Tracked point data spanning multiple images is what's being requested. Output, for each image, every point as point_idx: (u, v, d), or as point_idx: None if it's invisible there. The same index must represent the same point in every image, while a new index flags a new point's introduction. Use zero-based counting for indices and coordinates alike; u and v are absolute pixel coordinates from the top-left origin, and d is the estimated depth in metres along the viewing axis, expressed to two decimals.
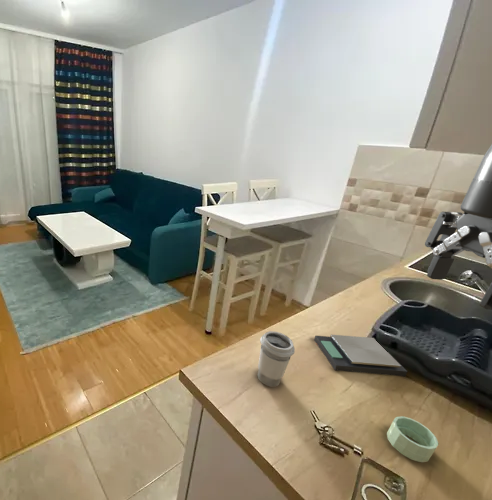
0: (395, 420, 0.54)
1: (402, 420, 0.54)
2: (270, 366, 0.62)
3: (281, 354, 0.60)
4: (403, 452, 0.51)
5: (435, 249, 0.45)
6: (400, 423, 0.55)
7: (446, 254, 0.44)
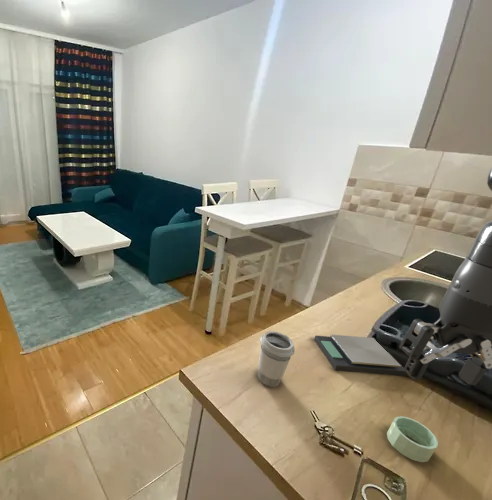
0: (395, 420, 0.54)
1: (402, 420, 0.54)
2: (270, 366, 0.62)
3: (281, 354, 0.60)
4: (403, 452, 0.51)
5: None
6: (400, 423, 0.55)
7: (476, 359, 0.46)
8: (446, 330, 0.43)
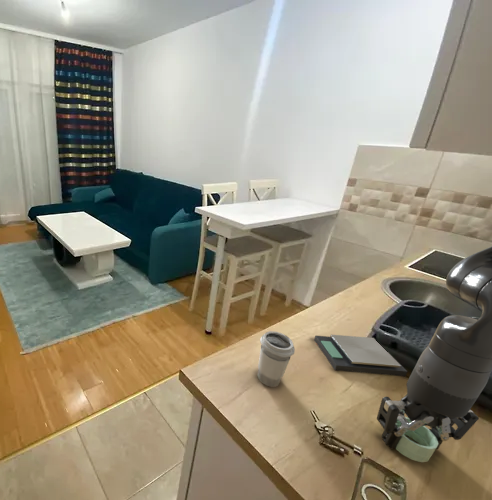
0: None
1: None
2: (270, 366, 0.62)
3: (281, 354, 0.60)
4: (403, 452, 0.51)
5: None
6: (400, 423, 0.55)
7: (434, 431, 0.51)
8: (411, 407, 0.48)
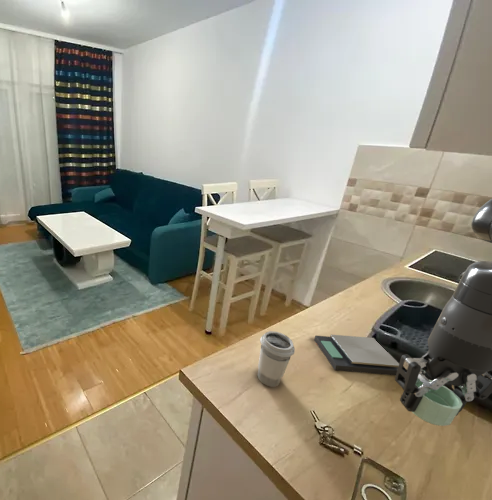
0: None
1: None
2: (270, 366, 0.62)
3: (281, 354, 0.60)
4: (424, 414, 0.48)
5: None
6: None
7: (457, 392, 0.48)
8: (434, 364, 0.45)
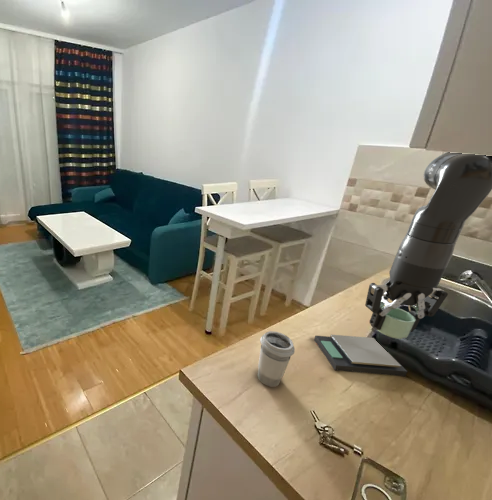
0: None
1: None
2: (270, 366, 0.62)
3: (281, 354, 0.60)
4: (387, 330, 0.61)
5: None
6: None
7: (412, 313, 0.62)
8: (393, 287, 0.58)
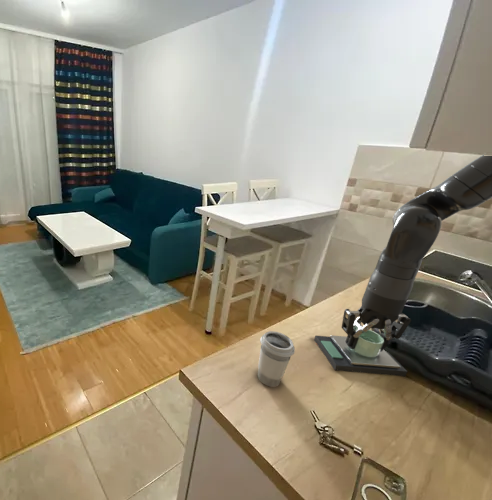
0: None
1: None
2: (270, 366, 0.62)
3: (281, 354, 0.60)
4: (359, 349, 0.71)
5: (383, 331, 0.72)
6: None
7: (382, 335, 0.71)
8: (364, 313, 0.68)
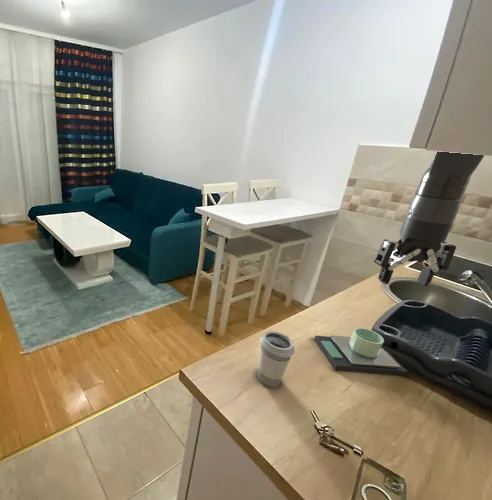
0: (355, 329, 0.73)
1: (361, 330, 0.74)
2: (270, 366, 0.62)
3: (281, 354, 0.60)
4: (359, 349, 0.71)
5: (428, 264, 0.67)
6: (360, 333, 0.74)
7: (427, 267, 0.66)
8: (403, 244, 0.64)
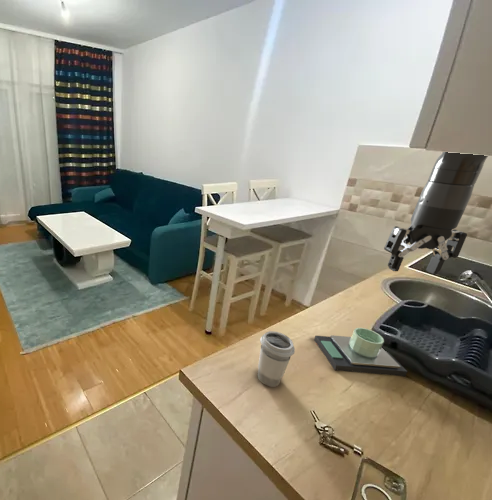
0: (355, 329, 0.73)
1: (361, 330, 0.74)
2: (270, 366, 0.62)
3: (281, 354, 0.60)
4: (359, 349, 0.71)
5: (437, 252, 0.67)
6: (360, 333, 0.74)
7: (437, 255, 0.66)
8: (414, 231, 0.64)
